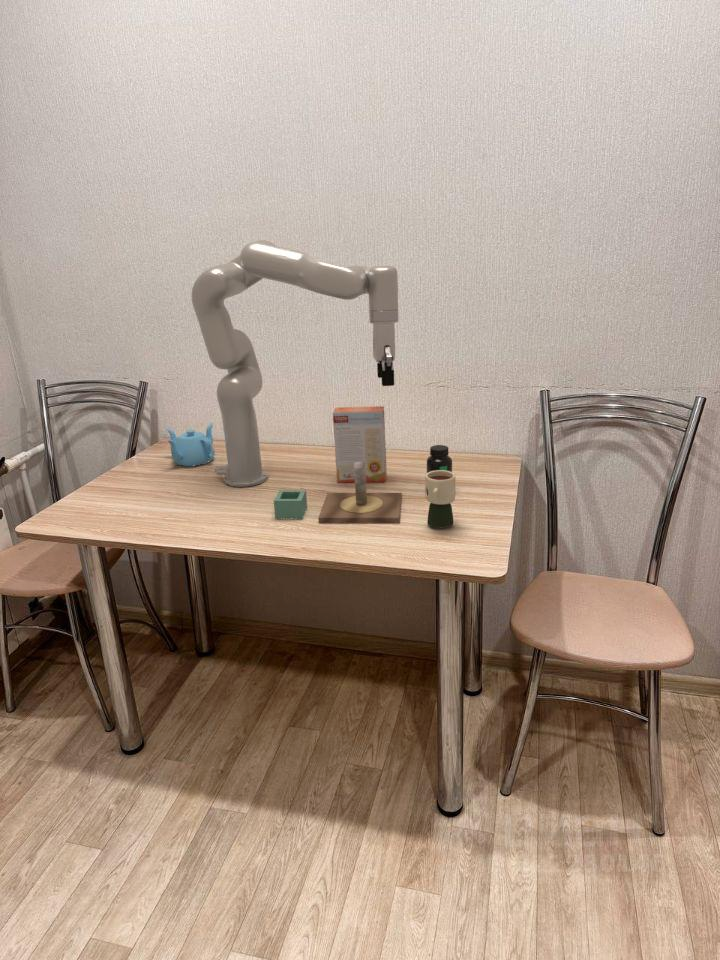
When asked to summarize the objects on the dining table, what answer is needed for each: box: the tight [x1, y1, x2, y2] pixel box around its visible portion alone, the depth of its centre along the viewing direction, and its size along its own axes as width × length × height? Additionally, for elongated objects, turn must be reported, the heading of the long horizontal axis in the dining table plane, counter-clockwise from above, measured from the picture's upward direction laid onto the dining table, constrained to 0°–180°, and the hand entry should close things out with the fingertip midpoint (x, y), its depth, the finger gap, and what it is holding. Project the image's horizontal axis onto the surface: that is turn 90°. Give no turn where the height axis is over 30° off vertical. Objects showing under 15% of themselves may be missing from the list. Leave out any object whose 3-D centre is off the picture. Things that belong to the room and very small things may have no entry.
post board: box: [318, 461, 403, 524], centre depth 176 cm, size 20×16×13 cm
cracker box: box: [332, 405, 388, 483], centre depth 195 cm, size 14×6×21 cm, turn 84°
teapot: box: [165, 422, 216, 467], centre depth 218 cm, size 15×15×10 cm
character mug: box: [424, 470, 456, 529], centre depth 165 cm, size 11×7×13 cm, turn 159°
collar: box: [273, 489, 308, 520], centre depth 177 cm, size 7×7×5 cm
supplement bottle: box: [426, 444, 453, 473], centre depth 187 cm, size 7×7×12 cm
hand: (385, 381), depth 185 cm, fingers open, 9 cm apart
